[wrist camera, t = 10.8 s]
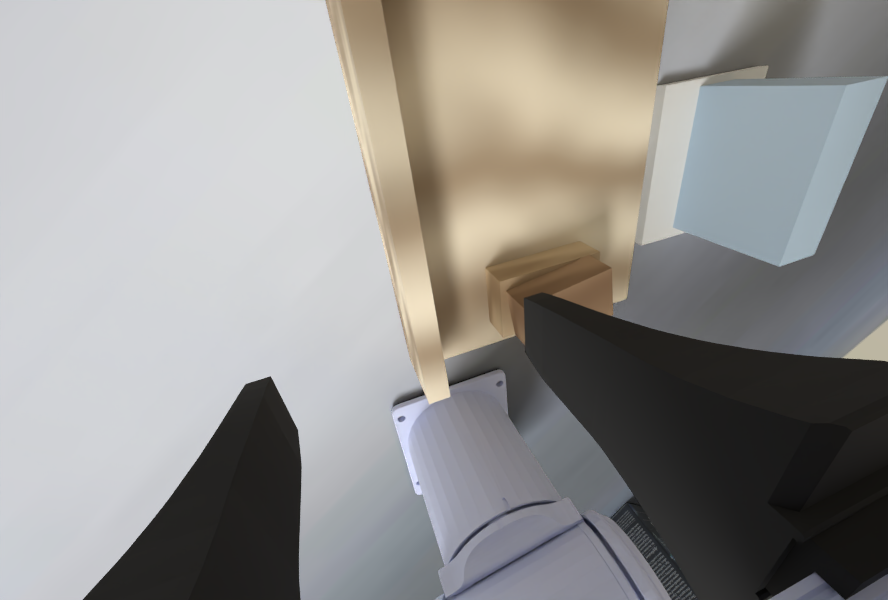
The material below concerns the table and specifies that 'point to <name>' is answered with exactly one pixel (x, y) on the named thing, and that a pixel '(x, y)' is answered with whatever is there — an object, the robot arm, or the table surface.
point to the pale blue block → (772, 161)
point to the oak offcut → (525, 278)
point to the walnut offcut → (566, 289)
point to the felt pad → (673, 151)
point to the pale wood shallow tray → (496, 145)
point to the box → (654, 550)
